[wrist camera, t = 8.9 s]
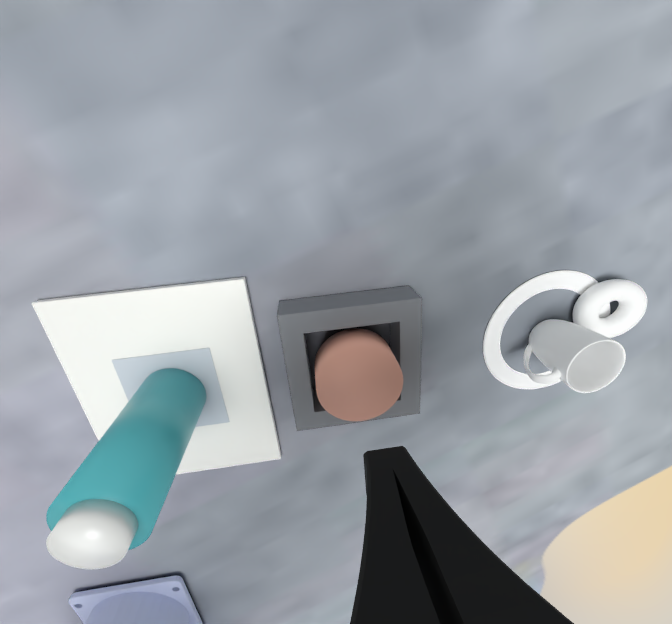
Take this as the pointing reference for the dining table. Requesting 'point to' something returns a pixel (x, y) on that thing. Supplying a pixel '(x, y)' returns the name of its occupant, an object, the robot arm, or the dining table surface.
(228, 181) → the dining table surface
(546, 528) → the dining table surface
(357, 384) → the button
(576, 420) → the dining table surface
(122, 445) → the marker
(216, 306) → the pad
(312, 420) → the housing
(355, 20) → the dining table surface
